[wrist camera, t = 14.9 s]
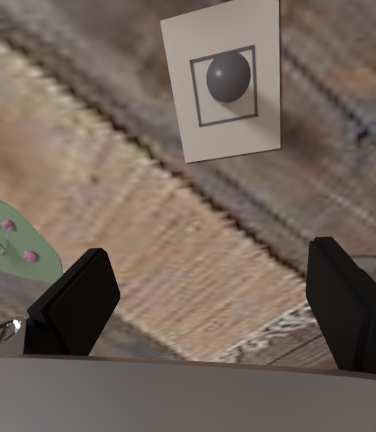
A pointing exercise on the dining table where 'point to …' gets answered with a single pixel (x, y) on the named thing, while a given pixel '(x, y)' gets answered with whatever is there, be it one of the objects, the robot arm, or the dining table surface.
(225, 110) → the paper sheet
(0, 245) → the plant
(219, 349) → the dining table surface
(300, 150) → the dining table surface
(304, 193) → the dining table surface
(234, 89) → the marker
